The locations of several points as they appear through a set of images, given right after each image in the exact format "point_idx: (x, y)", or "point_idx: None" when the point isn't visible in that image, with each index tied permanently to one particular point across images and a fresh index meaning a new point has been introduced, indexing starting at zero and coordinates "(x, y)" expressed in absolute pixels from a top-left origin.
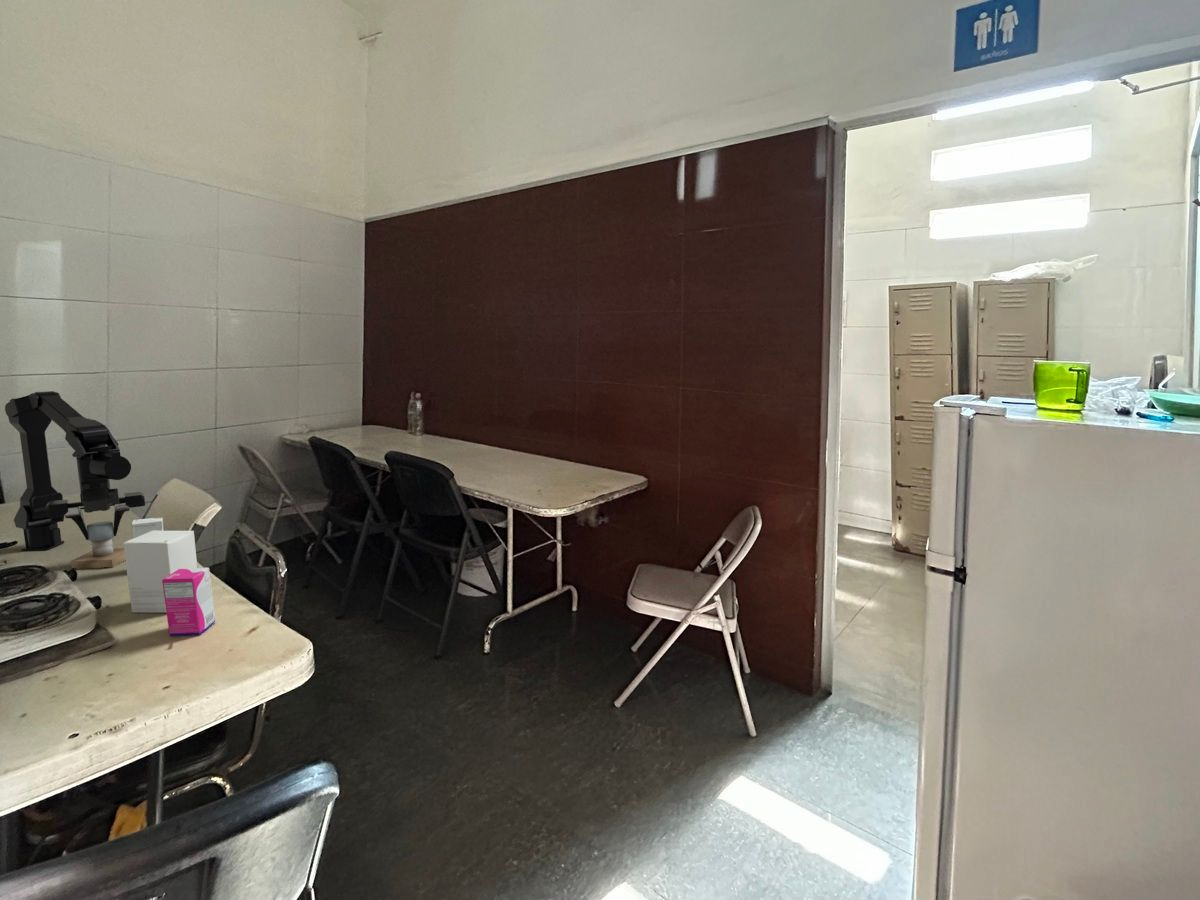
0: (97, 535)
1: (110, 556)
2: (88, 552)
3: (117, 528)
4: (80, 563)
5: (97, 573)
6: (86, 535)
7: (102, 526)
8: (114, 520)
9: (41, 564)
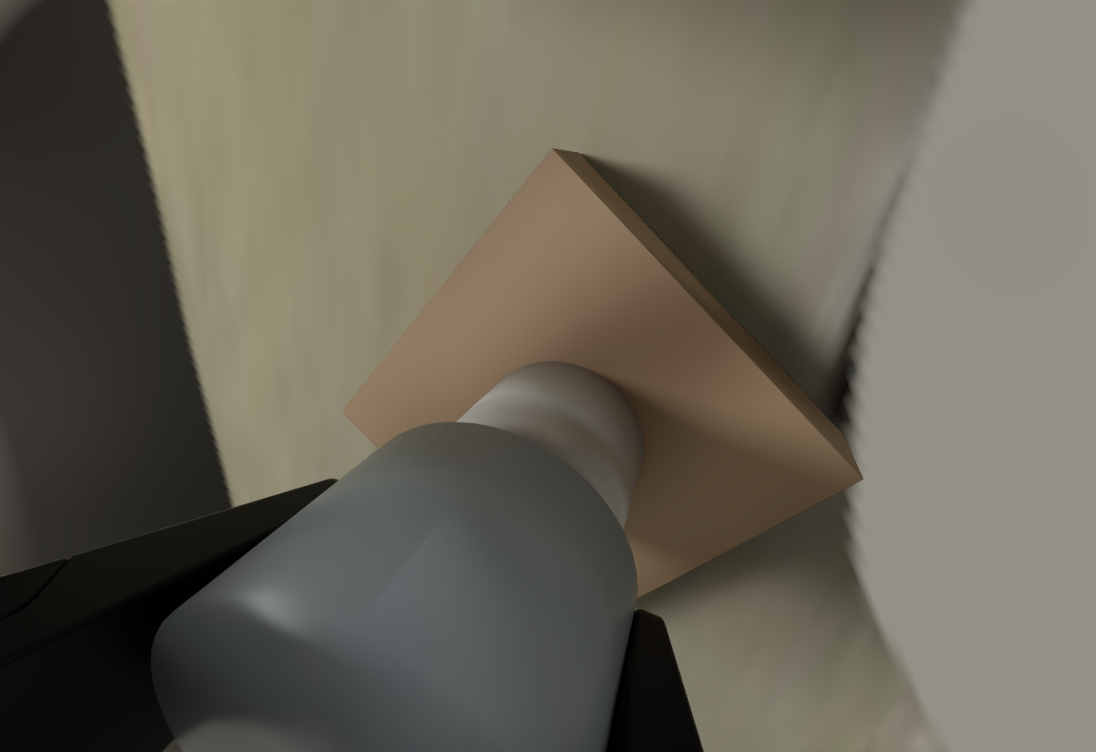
0: (516, 512)
1: (532, 303)
2: None
3: (206, 516)
4: (792, 392)
5: (751, 40)
6: (649, 675)
7: (303, 602)
8: (8, 650)
9: (928, 746)
